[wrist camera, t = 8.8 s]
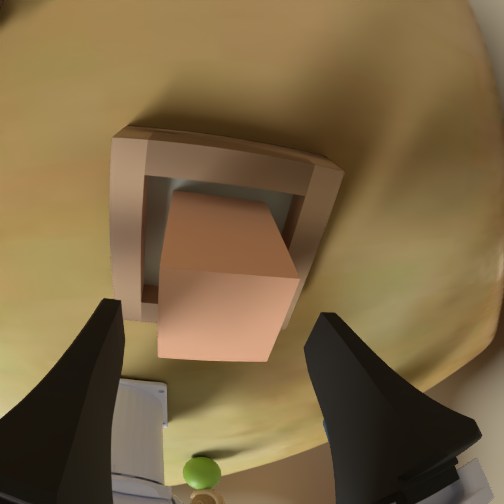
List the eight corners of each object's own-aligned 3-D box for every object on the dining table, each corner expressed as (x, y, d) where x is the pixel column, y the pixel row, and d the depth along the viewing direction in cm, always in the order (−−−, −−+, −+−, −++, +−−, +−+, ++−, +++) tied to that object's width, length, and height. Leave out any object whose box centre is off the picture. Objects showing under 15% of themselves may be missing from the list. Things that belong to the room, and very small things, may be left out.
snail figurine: (231, 455, 37) (243, 527, 27) (198, 464, 38) (205, 531, 29) (208, 448, 34) (218, 527, 24) (174, 456, 36) (180, 529, 26)
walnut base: (276, 302, 20) (285, 329, 18) (123, 290, 18) (116, 318, 16) (325, 155, 15) (344, 171, 13) (126, 125, 13) (112, 137, 11)
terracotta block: (246, 274, 17) (266, 361, 12) (166, 267, 16) (157, 357, 11) (265, 202, 15) (300, 278, 10) (173, 190, 14) (159, 267, 9)
